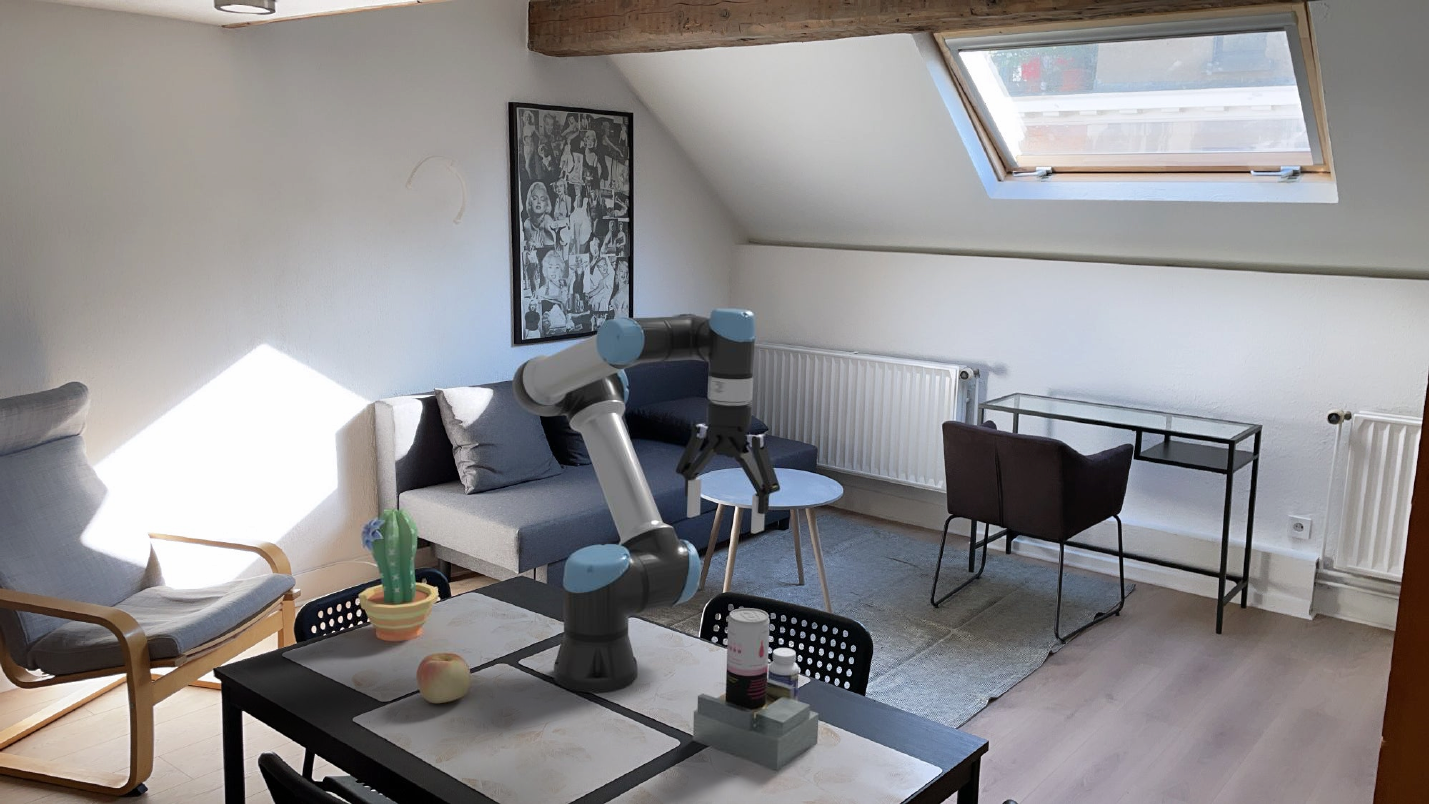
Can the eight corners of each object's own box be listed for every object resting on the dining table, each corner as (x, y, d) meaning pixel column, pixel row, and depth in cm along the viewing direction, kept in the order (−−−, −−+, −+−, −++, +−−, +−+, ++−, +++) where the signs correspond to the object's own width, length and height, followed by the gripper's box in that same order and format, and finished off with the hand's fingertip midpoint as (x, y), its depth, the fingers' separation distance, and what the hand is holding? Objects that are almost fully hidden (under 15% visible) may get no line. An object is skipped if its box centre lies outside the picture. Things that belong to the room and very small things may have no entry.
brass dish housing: (691, 741, 177) (692, 694, 175) (737, 714, 187) (738, 669, 186) (775, 772, 167) (777, 722, 166) (818, 741, 178) (820, 694, 176)
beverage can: (755, 693, 182) (758, 605, 179) (772, 709, 176) (776, 619, 173) (718, 698, 179) (721, 610, 177) (735, 715, 173) (738, 624, 171)
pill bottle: (795, 708, 190) (797, 659, 188) (765, 704, 191) (766, 656, 189) (799, 695, 195) (801, 648, 193) (769, 692, 196) (771, 644, 194)
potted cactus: (367, 619, 226) (364, 500, 222) (444, 618, 227) (442, 500, 223) (351, 648, 210) (347, 521, 206) (433, 646, 212) (432, 521, 208)
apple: (408, 700, 189) (407, 655, 187) (452, 685, 195) (451, 642, 194) (436, 716, 183) (436, 670, 182) (481, 700, 189) (481, 656, 188)
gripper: (658, 394, 189) (654, 513, 193) (779, 414, 175) (773, 543, 178) (685, 389, 195) (681, 505, 199) (804, 408, 181) (798, 533, 184)
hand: (724, 523), depth 189 cm, fingers open, 13 cm apart
